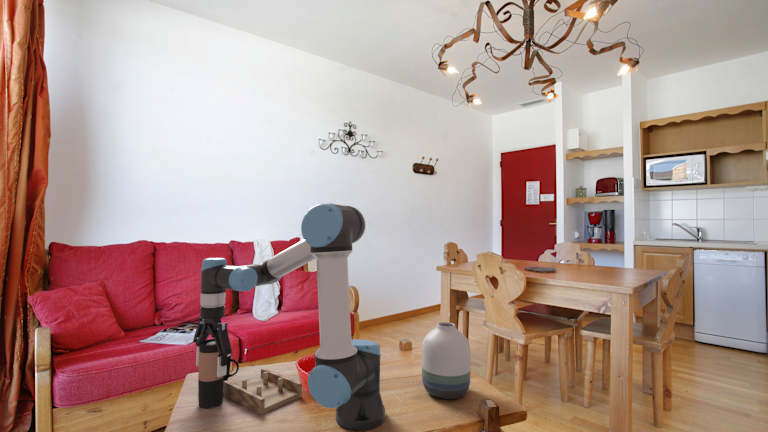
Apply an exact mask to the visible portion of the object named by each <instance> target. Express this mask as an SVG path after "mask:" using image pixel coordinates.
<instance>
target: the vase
mask: <svg viewBox="0 0 768 432" xmlns="http://www.w3.org/2000/svg"><path fill="white" fill-rule="evenodd" d="M421 380H422V381H421V382H422V385H423V388H424V389H425V391H426V392H427V393H428V394H430V395H431V396H434V397H436V398H439V399H444V400H445V399H446V400H454V399H459V398H462V397H463V396H465V395H466V394H467V393H468V391H469V389H470V385H471V345H470V342H469V339H468V338H467V337H466V335H464V333H462V332H461V331H459V329H458V328H457V326H456V324H455V323H453V322H447V321H446V322H445V321H444V322H443V321H441V322H440V321H439V322H438V323H436V327H434V329H432V330H430V331H429V332H428V333H426V335H425V336H424V338H423V341H422V345H421Z"/></svg>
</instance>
